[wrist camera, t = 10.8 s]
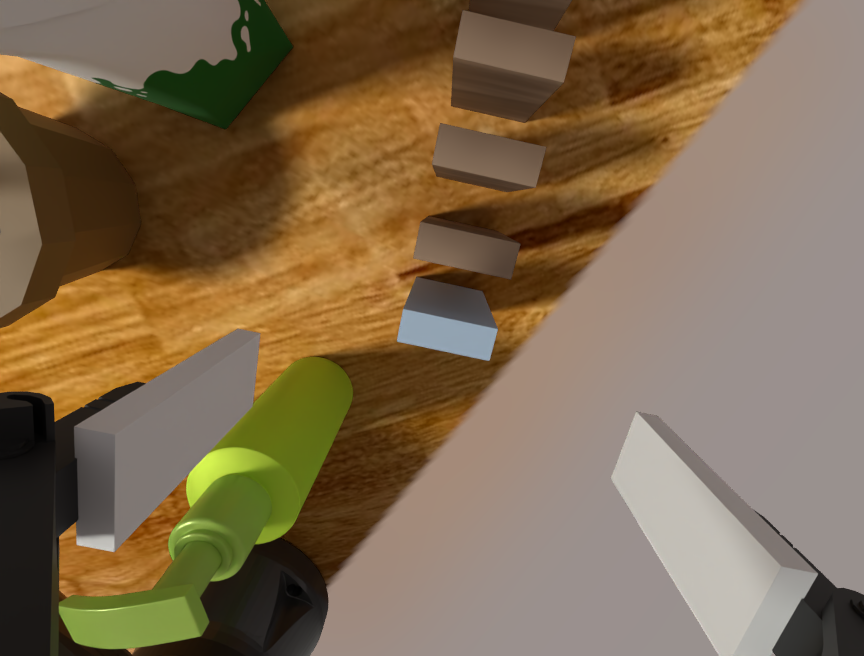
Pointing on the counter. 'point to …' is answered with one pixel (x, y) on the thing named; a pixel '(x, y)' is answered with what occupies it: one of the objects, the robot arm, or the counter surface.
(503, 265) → the domino
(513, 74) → the domino
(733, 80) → the counter surface
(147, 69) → the milk carton
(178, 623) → the soap dispenser
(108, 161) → the flowerpot
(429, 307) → the domino
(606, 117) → the counter surface
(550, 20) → the domino
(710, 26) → the counter surface
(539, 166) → the domino
